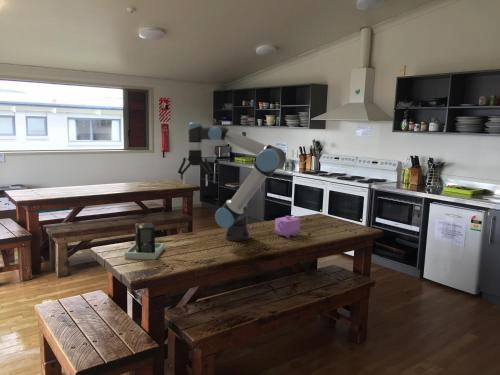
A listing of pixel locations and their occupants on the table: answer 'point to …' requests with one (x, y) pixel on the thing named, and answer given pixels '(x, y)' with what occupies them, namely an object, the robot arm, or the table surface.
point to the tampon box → (145, 237)
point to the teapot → (287, 226)
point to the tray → (134, 255)
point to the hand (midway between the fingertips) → (195, 185)
